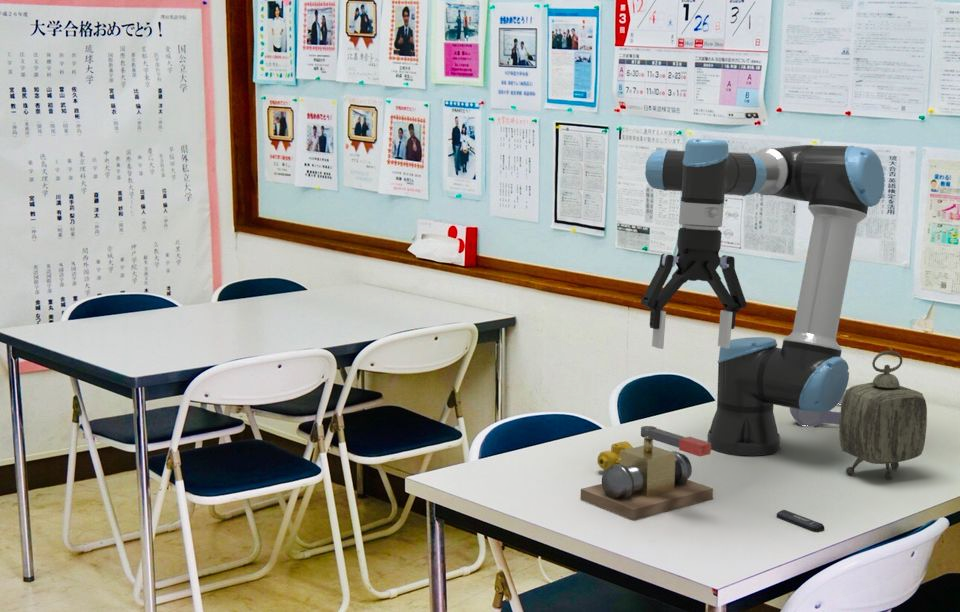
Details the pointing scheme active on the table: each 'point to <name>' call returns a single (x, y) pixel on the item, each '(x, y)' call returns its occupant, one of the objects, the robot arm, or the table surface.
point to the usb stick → (800, 521)
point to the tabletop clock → (882, 421)
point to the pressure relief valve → (612, 455)
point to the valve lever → (677, 441)
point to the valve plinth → (648, 500)
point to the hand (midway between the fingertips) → (690, 347)
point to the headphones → (815, 417)
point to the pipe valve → (646, 472)
